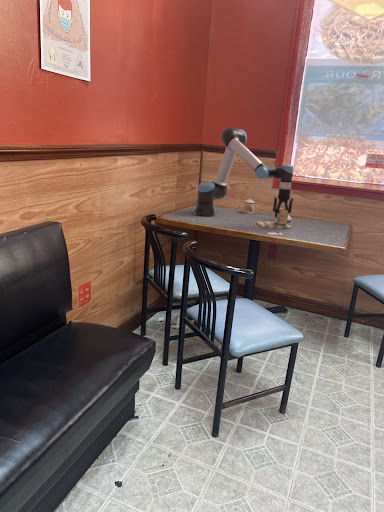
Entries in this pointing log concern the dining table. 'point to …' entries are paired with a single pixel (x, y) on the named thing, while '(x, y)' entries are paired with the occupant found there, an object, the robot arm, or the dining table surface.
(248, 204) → the teacup with lid
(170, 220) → the dining table surface
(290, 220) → the flower in vase
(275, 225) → the board
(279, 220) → the block
